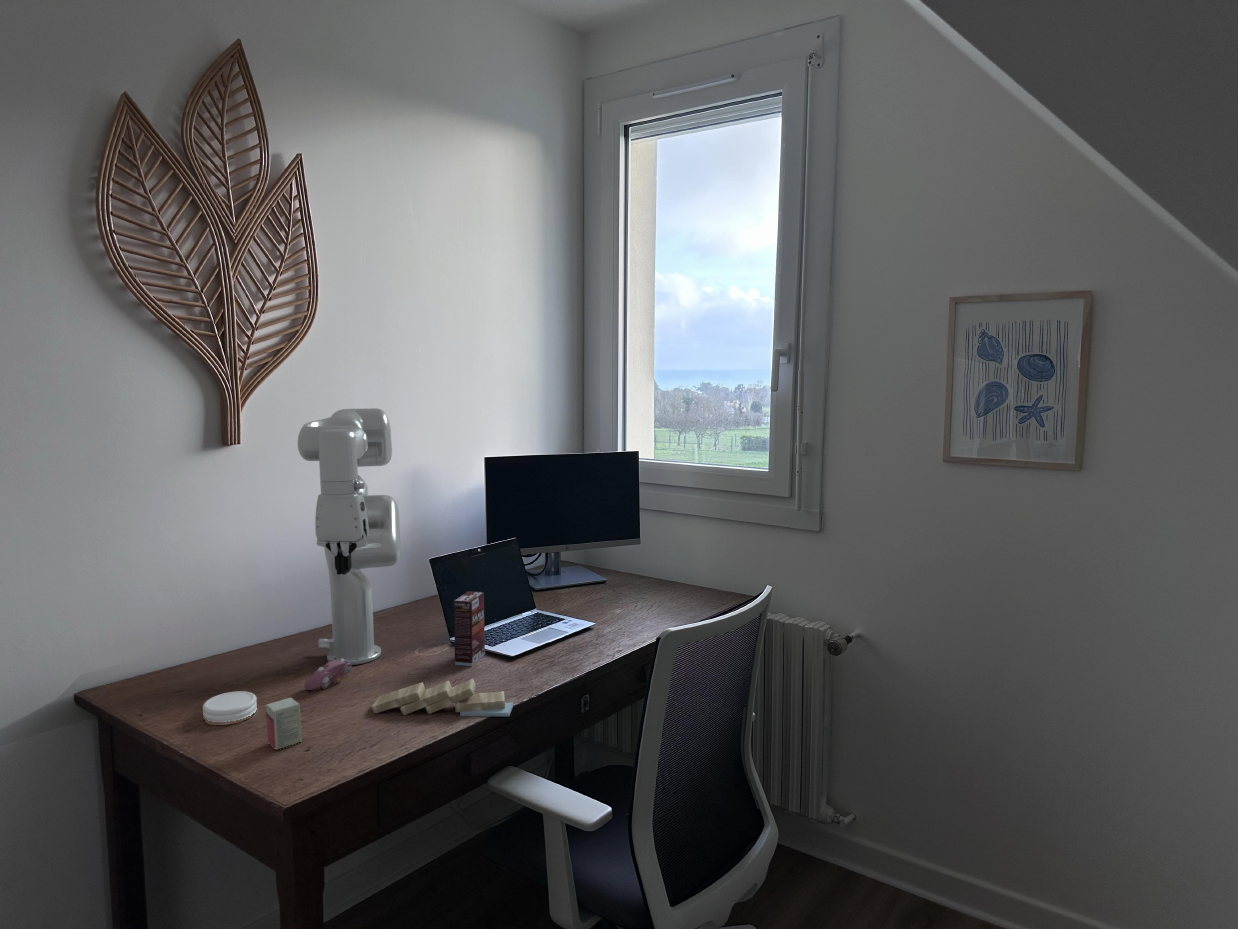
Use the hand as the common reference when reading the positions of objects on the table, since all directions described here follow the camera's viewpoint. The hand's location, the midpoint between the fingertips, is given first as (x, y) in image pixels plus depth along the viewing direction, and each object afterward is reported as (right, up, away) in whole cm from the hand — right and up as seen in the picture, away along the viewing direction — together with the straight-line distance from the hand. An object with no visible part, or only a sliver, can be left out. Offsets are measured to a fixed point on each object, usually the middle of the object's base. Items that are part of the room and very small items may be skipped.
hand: (343, 572), depth 172 cm
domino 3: (+19, -27, -4) cm, 33 cm away
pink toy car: (-6, -27, +8) cm, 29 cm away
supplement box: (+23, -24, +24) cm, 41 cm away
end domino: (+26, -28, -5) cm, 39 cm away
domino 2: (+14, -27, -5) cm, 31 cm away
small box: (-5, -30, -19) cm, 36 cm away
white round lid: (-21, -29, -7) cm, 36 cm away
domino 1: (+8, -27, -4) cm, 28 cm away
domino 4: (+25, -26, -5) cm, 37 cm away
